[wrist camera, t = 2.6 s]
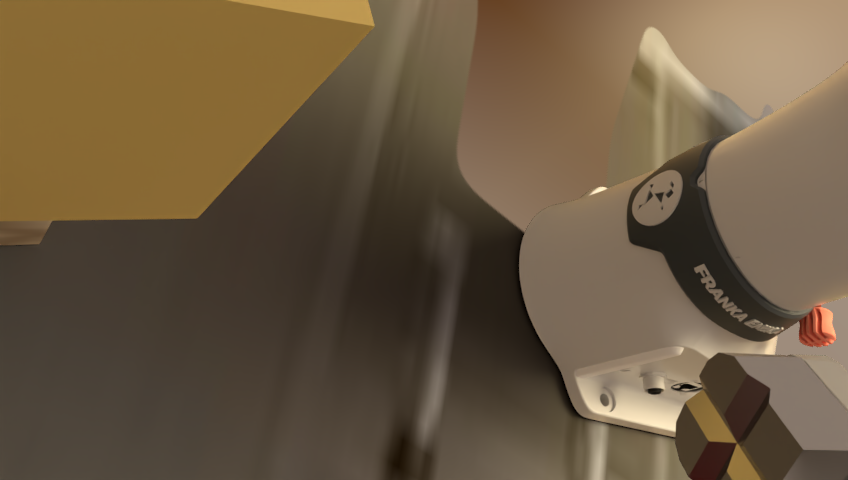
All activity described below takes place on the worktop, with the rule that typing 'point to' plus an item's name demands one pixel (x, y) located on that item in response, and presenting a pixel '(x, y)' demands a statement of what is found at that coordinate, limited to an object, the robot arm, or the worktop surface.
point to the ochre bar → (152, 98)
